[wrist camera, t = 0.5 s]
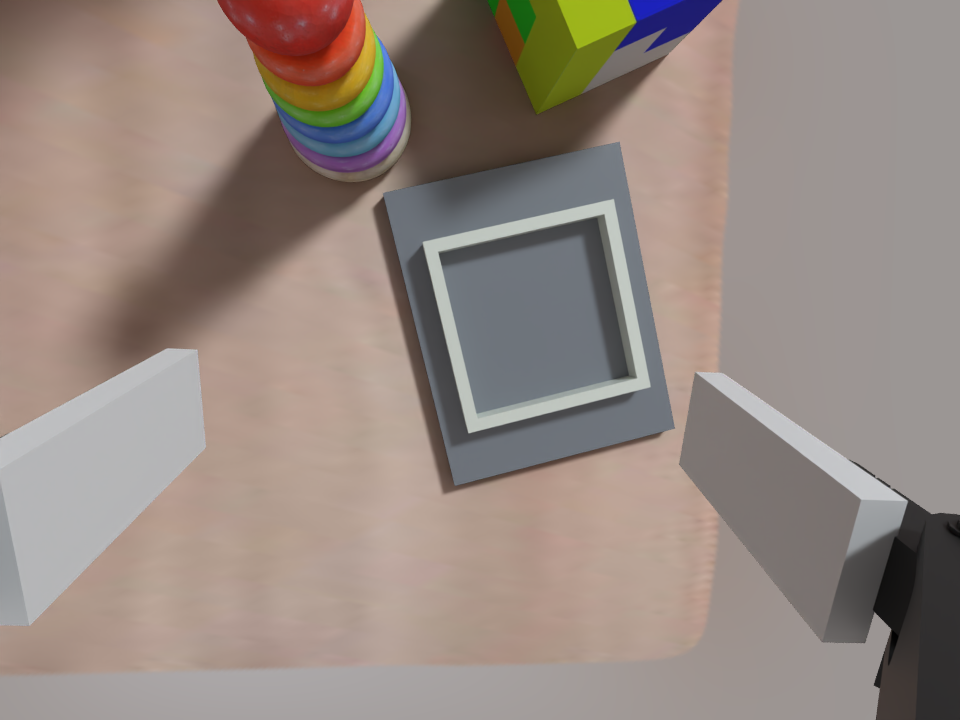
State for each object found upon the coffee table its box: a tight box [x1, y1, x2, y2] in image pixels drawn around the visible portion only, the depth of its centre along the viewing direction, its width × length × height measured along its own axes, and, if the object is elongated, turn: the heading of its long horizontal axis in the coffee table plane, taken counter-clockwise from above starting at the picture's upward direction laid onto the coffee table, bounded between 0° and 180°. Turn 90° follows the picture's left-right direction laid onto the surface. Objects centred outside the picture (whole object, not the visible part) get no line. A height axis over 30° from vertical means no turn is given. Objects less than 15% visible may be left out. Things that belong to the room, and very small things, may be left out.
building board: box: [383, 142, 675, 486], centre depth 38 cm, size 20×16×2 cm
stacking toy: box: [217, 0, 411, 182], centre depth 28 cm, size 8×8×19 cm
